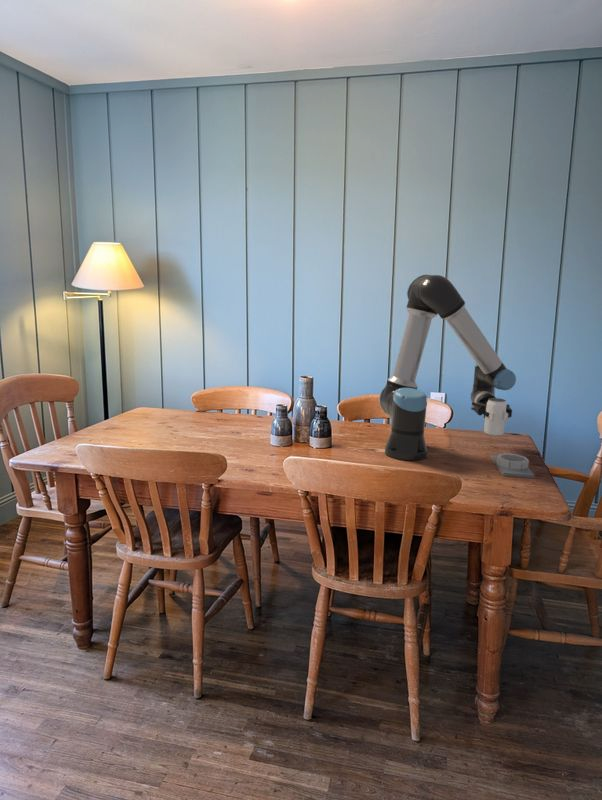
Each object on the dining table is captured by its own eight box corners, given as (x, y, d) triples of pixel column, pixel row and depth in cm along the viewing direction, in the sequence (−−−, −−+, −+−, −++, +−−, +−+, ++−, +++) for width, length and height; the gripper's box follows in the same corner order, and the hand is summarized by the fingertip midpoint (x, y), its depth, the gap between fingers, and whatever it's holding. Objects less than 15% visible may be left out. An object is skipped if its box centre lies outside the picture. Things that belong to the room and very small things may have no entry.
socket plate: (502, 475, 194) (503, 465, 193) (491, 457, 214) (492, 448, 213) (534, 478, 193) (535, 468, 192) (520, 460, 212) (521, 450, 212)
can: (490, 436, 198) (493, 401, 196) (479, 431, 204) (483, 397, 202) (507, 436, 200) (510, 401, 197) (496, 431, 206) (500, 397, 204)
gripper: (509, 414, 218) (524, 430, 195) (462, 411, 220) (472, 426, 197) (511, 394, 216) (527, 408, 194) (464, 391, 218) (474, 405, 196)
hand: (499, 417), depth 195 cm, fingers closed on can, 4 cm apart
